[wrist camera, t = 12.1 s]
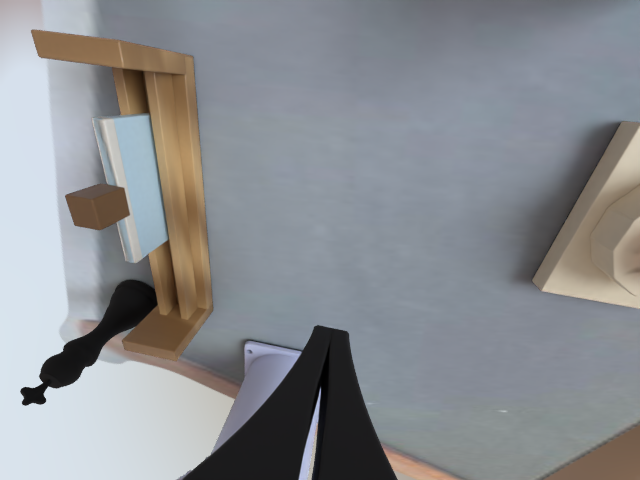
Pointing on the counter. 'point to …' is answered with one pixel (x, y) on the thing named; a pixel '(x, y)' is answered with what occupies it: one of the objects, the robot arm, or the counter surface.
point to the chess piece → (94, 339)
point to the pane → (125, 186)
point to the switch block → (602, 231)
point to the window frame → (175, 175)
